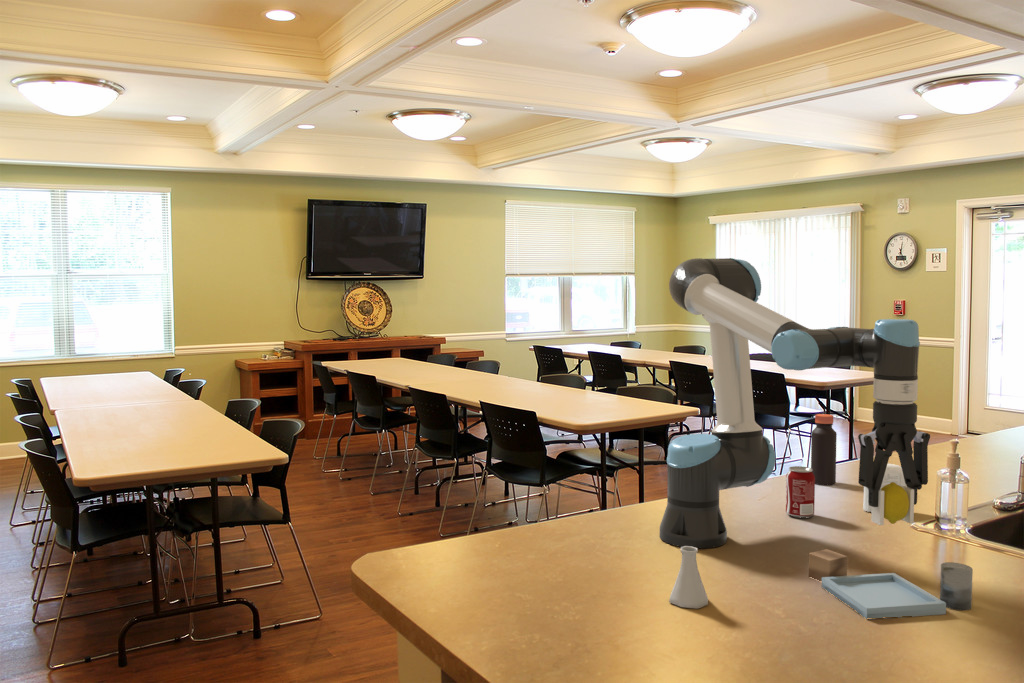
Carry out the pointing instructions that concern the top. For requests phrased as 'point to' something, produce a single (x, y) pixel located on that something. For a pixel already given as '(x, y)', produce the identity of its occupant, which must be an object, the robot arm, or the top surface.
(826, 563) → the walnut block
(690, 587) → the flask
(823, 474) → the bottle
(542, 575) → the top surface
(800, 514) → the soda can
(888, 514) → the lemon
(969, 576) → the grey tin
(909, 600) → the dish
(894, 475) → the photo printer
